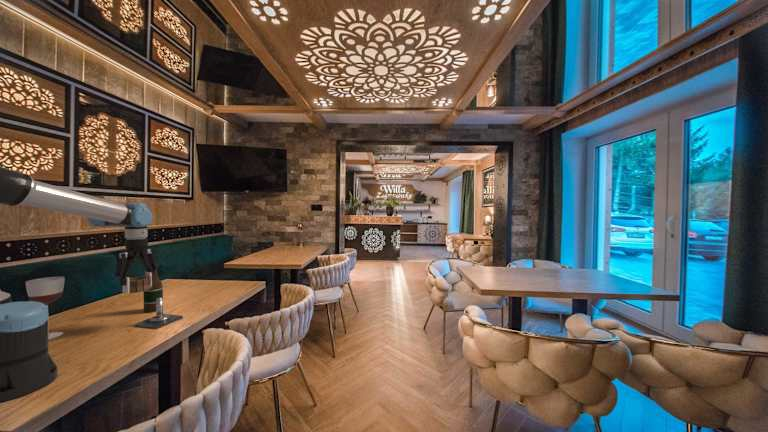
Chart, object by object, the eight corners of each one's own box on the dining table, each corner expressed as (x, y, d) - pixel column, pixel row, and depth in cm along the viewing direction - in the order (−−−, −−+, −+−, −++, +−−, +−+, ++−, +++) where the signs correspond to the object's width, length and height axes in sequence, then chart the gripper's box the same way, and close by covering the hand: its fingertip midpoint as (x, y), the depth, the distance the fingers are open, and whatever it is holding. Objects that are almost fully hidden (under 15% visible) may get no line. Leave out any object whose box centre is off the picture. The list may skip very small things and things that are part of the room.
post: (157, 328, 121) (157, 302, 121) (135, 326, 123) (134, 300, 123) (182, 318, 133) (182, 294, 132) (161, 316, 135) (161, 293, 135)
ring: (135, 293, 119) (135, 281, 119) (118, 292, 121) (117, 280, 120) (156, 287, 128) (155, 276, 128) (139, 286, 129) (139, 275, 129)
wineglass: (23, 339, 111) (22, 280, 110) (61, 329, 120) (60, 275, 119) (30, 344, 106) (29, 283, 106) (69, 334, 115) (68, 278, 115)
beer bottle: (146, 308, 145) (145, 262, 145) (165, 306, 148) (164, 261, 148) (140, 313, 138) (140, 265, 138) (160, 311, 141) (160, 263, 141)
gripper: (116, 241, 112) (118, 297, 113) (166, 236, 134) (167, 283, 134) (101, 241, 114) (102, 296, 114) (153, 235, 135) (154, 282, 136)
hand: (137, 289), depth 124 cm, fingers closed on ring, 9 cm apart
